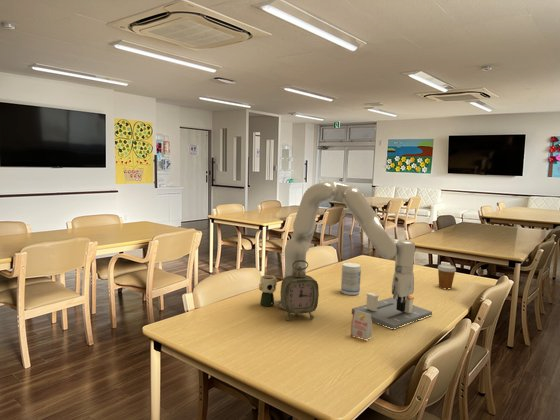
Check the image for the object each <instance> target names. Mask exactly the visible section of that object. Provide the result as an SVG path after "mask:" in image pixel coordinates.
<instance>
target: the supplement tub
mask: <svg viewBox="0 0 560 420" xmlns="http://www.w3.org/2000/svg"><path fill="white" fill-rule="evenodd" d="M361 267H362V266H361V264H359V263H355V262H344V263H342V266H341V282H340V291H341V293H342V294H344V295H346V296H347V295H348V296H355V295H359V294H360V290H361V289H360V288H361V274H362V272H361V271H362V270H361V269H362V268H361Z"/></svg>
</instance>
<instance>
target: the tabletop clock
mask: <svg viewBox="0 0 560 420" xmlns="http://www.w3.org/2000/svg"><path fill="white" fill-rule="evenodd" d="M296 262H305V263H306V267H305V268H301V267H299V268H295V267H294V266H293V265H294V264H295V263H296ZM292 267H293V268H294V269H296V270H298V271H296V272H295V273H294V275H291V276H286V277H283V279H282V281H281V284H280V300H281V303H282V306H283V307H284V308H285V309H284V310H285V311H286V312H287V316H286V317H285V321H287V322H289V320H290V315H291V314H293V315H294V316H295V317H297V316H298V315H302V314H309V319H310V320H313V319H314V315H313V314H311V313H313V312H315V311H316V309H317V308H318V303H319V296H320V295H319V289H320V288H319V284H318V282H317V280H316V279H314V278H313V277H312V276H310V275H307V274H305V272H304V271H301V270H304V269H308V268H309V262H307V260H306V261H304V260H297V261H295V262H294V263H293V264H292Z"/></svg>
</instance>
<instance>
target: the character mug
mask: <svg viewBox="0 0 560 420" xmlns="http://www.w3.org/2000/svg"><path fill="white" fill-rule="evenodd" d="M259 281H260V282H259V283H258V290H259V291H260V292H262V293H261V295H260V296H261V297H260V302H259V303H260V304H261V305H263V306H264V307H270V306H274V305H275V296H274V292H276V290H277V283H278V280H277V277H276V276H274V275H269V274H267V275H266V274H265V275H264V274H263V275H261V276H260V280H259Z"/></svg>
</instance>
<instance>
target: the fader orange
mask: <svg viewBox="0 0 560 420" xmlns="http://www.w3.org/2000/svg"><path fill="white" fill-rule="evenodd" d="M414 300H415V297H414V296H411V295H409V296H408V297H407V301H406V303H405V311H404V312H407V313H411V312H412V306H413V303H414V302H413V301H414Z"/></svg>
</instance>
